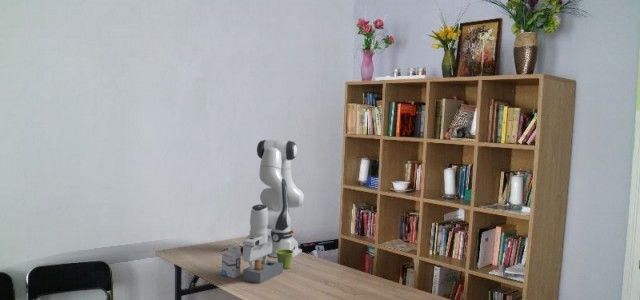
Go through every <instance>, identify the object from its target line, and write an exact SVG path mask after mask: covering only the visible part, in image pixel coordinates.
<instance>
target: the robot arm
mask: <svg viewBox="0 0 640 300" xmlns="http://www.w3.org/2000/svg"><path fill="white" fill-rule="evenodd" d="M256 154H257V157H258V158H260V159H261V161H260V166H259V173H258V174H259V179H260V181H261V182H262V183H263V184H264V185H266V186H267V188H263V189H262V191H261V192H260V195H259V199H260V203H261V204H255V205H253V206H252V207H251V210H250V217H249V225H250V229H249V235H248V236H247V237H246V238H244V240H243V241H242V244H243V245H244V246H243V248H242V260H243V261H244V262H247V263H248V264H249V267H250V269H254V268H255V264H254V263H255V260H259V259H261V258H262V259H261V264H263V265H264V264H266V260H268V256H269V257H272V258H277V253H276V251H277V250H280V249H288V250H292V251H293V254H292V258H296V257H297V256H298V255H299V254H300V253H302V251H303V249H301V248H300V247H299V243H298V241H297V240H296V238H294V237H293V234H295V229H293V230H292V229H291V227H292V219H291V218H292V217H291V216H290V212H289V208H292V209H294V208H300V207H302V205H303V204H304V202H305V194H304V192H303V191H302V190H301V189H300V188H298V186H297V185H296V184H295V182H294V181H293V176H292V163H291V161H293V160H295V158H296V156H297V154H298V147H297V144H296V142H295V141H291V140H283V139H271V140H270V139H268V140H267V139H263V140H260V141H259V142H258V143H257V146H256ZM268 230H270V235H269V231H268Z"/></svg>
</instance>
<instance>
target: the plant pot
mask: <svg viewBox="0 0 640 300" xmlns="http://www.w3.org/2000/svg"><path fill="white" fill-rule="evenodd" d="M276 253H277V257H276V259H277V262H280V263H283V270H286V269H291V263H292V258H293V257H292V254H293V251H292V250H288V249H280V250H277V251H276Z"/></svg>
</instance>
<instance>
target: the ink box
mask: <svg viewBox="0 0 640 300" xmlns="http://www.w3.org/2000/svg"><path fill="white" fill-rule="evenodd" d="M227 249H228V250H224V251H221V276H224V277H228V278H230V279H231V278H233V279H236V278H239V277H240V276H241V258H242V257H241V256H242V253H241V251H242V250H241V249H242V247H241V246H240V245H239V246H238V245H235V244H229V243H228V248H227Z"/></svg>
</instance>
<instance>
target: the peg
mask: <svg viewBox="0 0 640 300" xmlns="http://www.w3.org/2000/svg"><path fill="white" fill-rule="evenodd" d="M261 261H262V259H256V260H254V265H255V270H258V271H260V270H261Z"/></svg>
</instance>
